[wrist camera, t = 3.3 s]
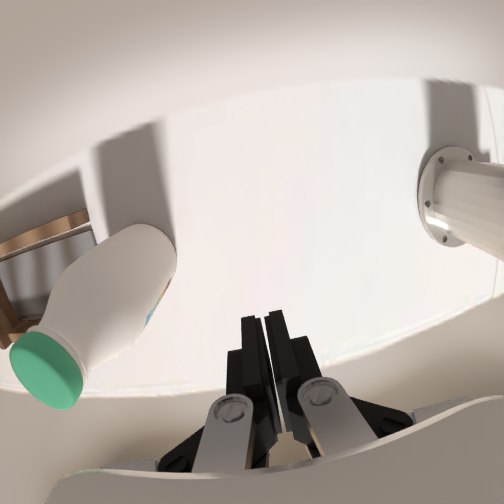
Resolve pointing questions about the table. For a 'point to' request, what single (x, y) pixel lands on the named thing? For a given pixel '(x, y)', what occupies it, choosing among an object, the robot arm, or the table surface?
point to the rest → (36, 272)
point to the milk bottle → (94, 313)
